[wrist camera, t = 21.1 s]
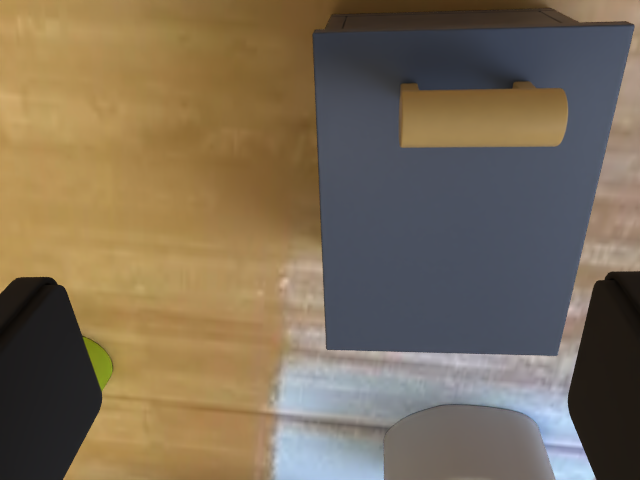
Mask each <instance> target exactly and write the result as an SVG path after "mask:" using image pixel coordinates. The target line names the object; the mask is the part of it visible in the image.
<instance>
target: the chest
mask: <svg viewBox="0 0 640 480" xmlns="http://www.w3.org/2000/svg"><path fill="white" fill-rule="evenodd" d="M545 23H580V22H578V21H576V20H574V19H572V18H570V17H567V16H565V15H563V14H561V13H559V12H557V11H556V10H554V9H551V8H541V9H506V10H472V11H437V12H403V13H368V14H334V15H331V17H330V19H329V21H328V23H327V25H326V28H325V29H357V28H395V27H432V26H470V25H508V24H545Z"/></svg>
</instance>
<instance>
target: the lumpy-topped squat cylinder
mask: <svg viewBox="0 0 640 480" xmlns="http://www.w3.org/2000/svg"><path fill="white" fill-rule="evenodd" d="M383 446H384V480H556V479H555V476H554V473H553V470H552V467H551V464H550V461H549V458H548V455H547V452H546V449H545V446H544V443H543V440H542V437H541V434H540V431H539V428H538V425H537V424H536V423H535V422H534V421H533V420H532V419H531V418H529V417H528V416H526V415H524V414H522V413H519V412H515V411H511V410H505V409H498V408H492V407H484V406H472V405H443V406H437V407H433V408H430V409H426V410H423V411H420V412H417V413H414V414H412V415H409V416H407V417H405V418H403V419H402V420H400V421H399V422H397V423H396V424H395V425H393V426H392V427H391V428H390V429H389V430H388V431H387V433H386V435H385V437H384V442H383Z"/></svg>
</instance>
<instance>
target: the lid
mask: <svg viewBox="0 0 640 480" xmlns="http://www.w3.org/2000/svg"><path fill="white" fill-rule="evenodd" d="M633 31H634V24H631V23H629V22H627V21H621V22H583V23H545V24H508V25H470V26H432V27H395V28H357V29H319V30H314V32H313V57H314V80H315V102H316V125H317V148H318V171H319V194H320V217H321V239H322V262H323V285H324V308H325V331H326V349H327V350H357V351H394V352H432V353H470V354H508V355H546V356H557V355H558V351H559V346H560V342H561V338H562V334H563V329H564V325H565V321H566V317H567V312H568V308H569V304H570V300H571V295H572V291H573V287H574V282H575V278H576V274H577V270H578V265H579V261H580V257H581V253H582V248H583V244H584V240H585V236H586V231H587V227H588V223H589V219H590V214H591V210H592V206H593V201H594V197H595V193H596V189H597V184H598V180H599V176H600V172H601V167H602V163H603V159H604V155H605V150H606V146H607V142H608V137H609V133H610V129H611V125H612V120H613V116H614V112H615V108H616V103H617V99H618V95H619V91H620V86H621V82H622V78H623V73H624V69H625V65H626V61H627V56H628V52H629V48H630V44H631V39H632V35H633Z"/></svg>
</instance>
